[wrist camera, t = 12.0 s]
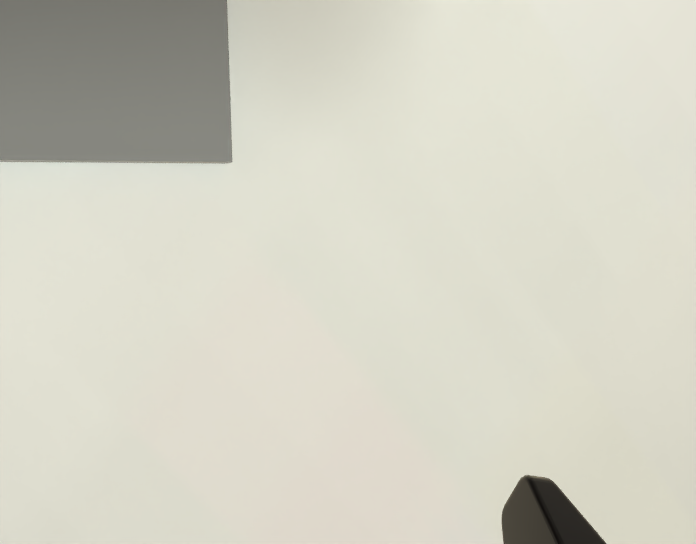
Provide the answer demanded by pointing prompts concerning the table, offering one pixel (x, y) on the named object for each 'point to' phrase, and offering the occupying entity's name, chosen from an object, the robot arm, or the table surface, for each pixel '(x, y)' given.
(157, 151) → the placemat
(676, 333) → the table surface
